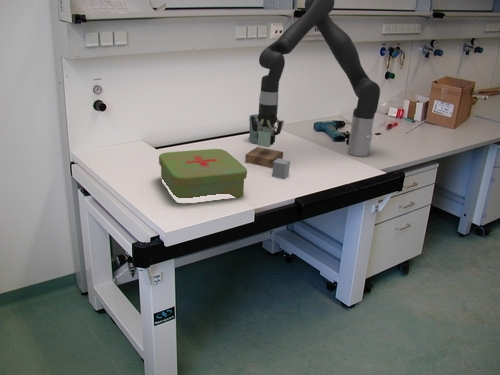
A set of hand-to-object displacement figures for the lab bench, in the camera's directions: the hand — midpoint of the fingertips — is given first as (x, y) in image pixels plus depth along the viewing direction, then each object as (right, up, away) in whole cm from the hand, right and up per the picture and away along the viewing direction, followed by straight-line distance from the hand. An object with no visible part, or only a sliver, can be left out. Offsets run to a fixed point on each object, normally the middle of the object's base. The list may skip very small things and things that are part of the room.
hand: (265, 142), depth 203 cm
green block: (0, -1, 0) cm, 1 cm away
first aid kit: (-24, -19, -27) cm, 41 cm away
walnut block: (-1, -8, +3) cm, 8 cm away
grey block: (+5, -14, -12) cm, 19 cm away
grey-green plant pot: (-2, +3, +28) cm, 28 cm away
